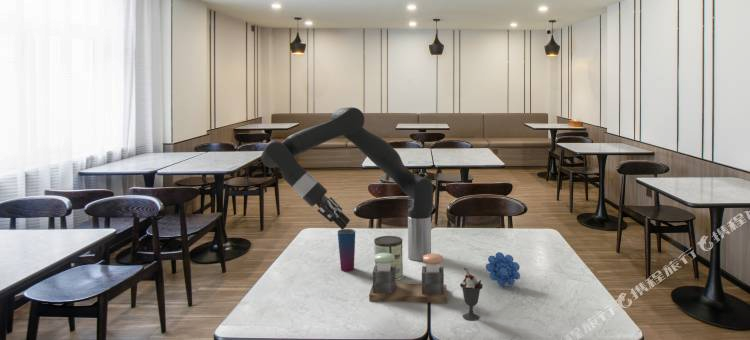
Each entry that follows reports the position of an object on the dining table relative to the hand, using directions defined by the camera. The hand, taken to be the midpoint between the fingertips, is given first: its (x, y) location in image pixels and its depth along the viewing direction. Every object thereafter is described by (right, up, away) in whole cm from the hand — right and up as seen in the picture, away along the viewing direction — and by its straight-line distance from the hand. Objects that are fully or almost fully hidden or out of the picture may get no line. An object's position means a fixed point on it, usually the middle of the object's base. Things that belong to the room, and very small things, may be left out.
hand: (346, 224), depth 173 cm
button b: (+28, -18, -1) cm, 33 cm away
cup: (-1, -20, +28) cm, 34 cm away
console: (+21, -24, +1) cm, 31 cm away
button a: (+13, -18, +1) cm, 22 cm away
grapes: (+53, -22, +7) cm, 58 cm away
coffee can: (+14, -21, +19) cm, 32 cm away
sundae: (+38, -26, -16) cm, 49 cm away
